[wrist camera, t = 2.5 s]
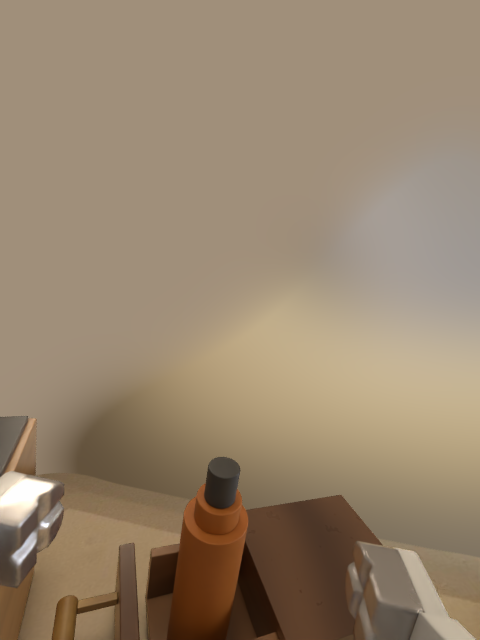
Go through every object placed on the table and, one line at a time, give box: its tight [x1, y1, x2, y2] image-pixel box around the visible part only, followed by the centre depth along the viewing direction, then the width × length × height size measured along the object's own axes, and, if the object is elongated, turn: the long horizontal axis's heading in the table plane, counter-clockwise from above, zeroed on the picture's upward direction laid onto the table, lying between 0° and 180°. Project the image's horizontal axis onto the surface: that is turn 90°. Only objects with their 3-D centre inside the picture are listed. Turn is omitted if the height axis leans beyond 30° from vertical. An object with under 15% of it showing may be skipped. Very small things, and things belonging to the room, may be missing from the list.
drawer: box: [52, 543, 280, 640], centre depth 25 cm, size 16×10×6 cm, turn 110°
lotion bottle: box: [167, 457, 248, 640], centre depth 24 cm, size 5×5×16 cm
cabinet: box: [244, 495, 383, 640], centre depth 29 cm, size 13×12×8 cm
